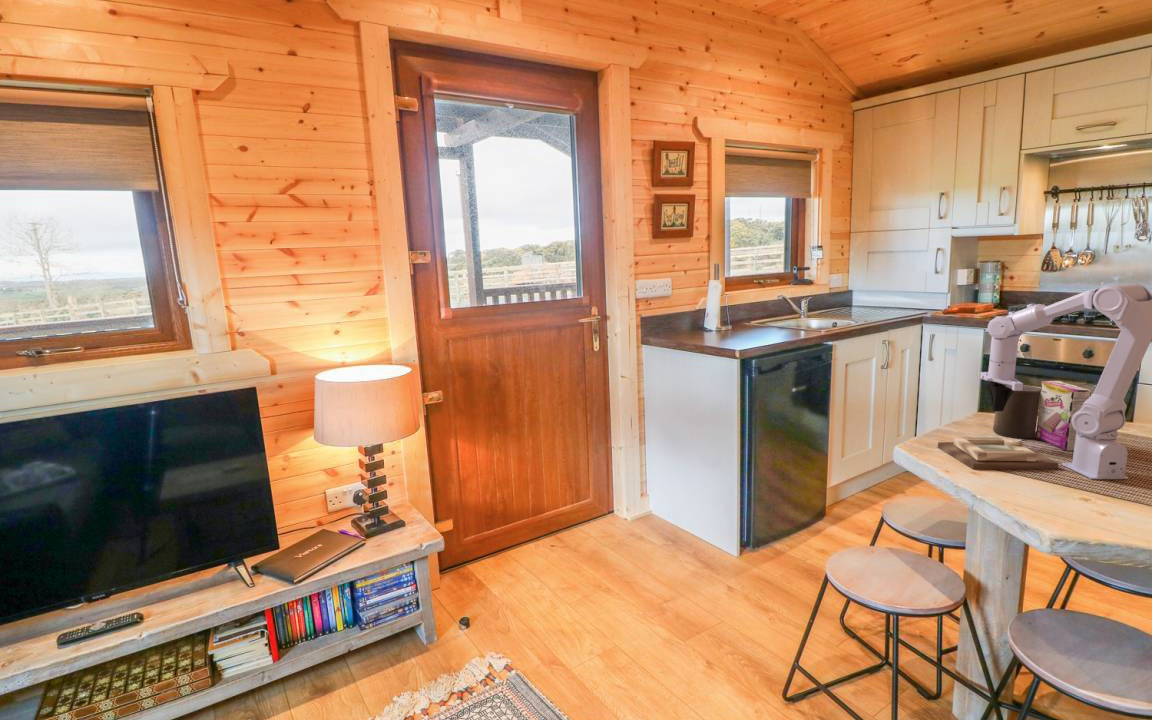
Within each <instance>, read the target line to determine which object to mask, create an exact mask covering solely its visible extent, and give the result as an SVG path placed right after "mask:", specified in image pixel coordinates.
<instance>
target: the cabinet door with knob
mask: <svg viewBox="0 0 1152 720" xmlns="http://www.w3.org/2000/svg"><path fill="white" fill-rule="evenodd" d="M952 442H953V445H955V446H956V447H958V448H959V449H961V450H962V451H964V452H966V453H967V454H969V455H970V456H972V457H973V458H975V459H976V460H988V461H1036V456H1037V453H1038V452H1037V453H1035V452H1036V451H1035V452H1033V451H1034V450H1032V449H1030V448H1028V447H1026V446H1024V445H1023V443H1021V442H1017V441H1014V440H1012V438H1010V437H975V436H974V437H973V436H972V437H971V436H970V437H968V436H967V437H966V436H961V437H960V436H954V437H953V441H952ZM1029 449H1030V450H1029ZM1031 450H1032V451H1031Z"/></svg>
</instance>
